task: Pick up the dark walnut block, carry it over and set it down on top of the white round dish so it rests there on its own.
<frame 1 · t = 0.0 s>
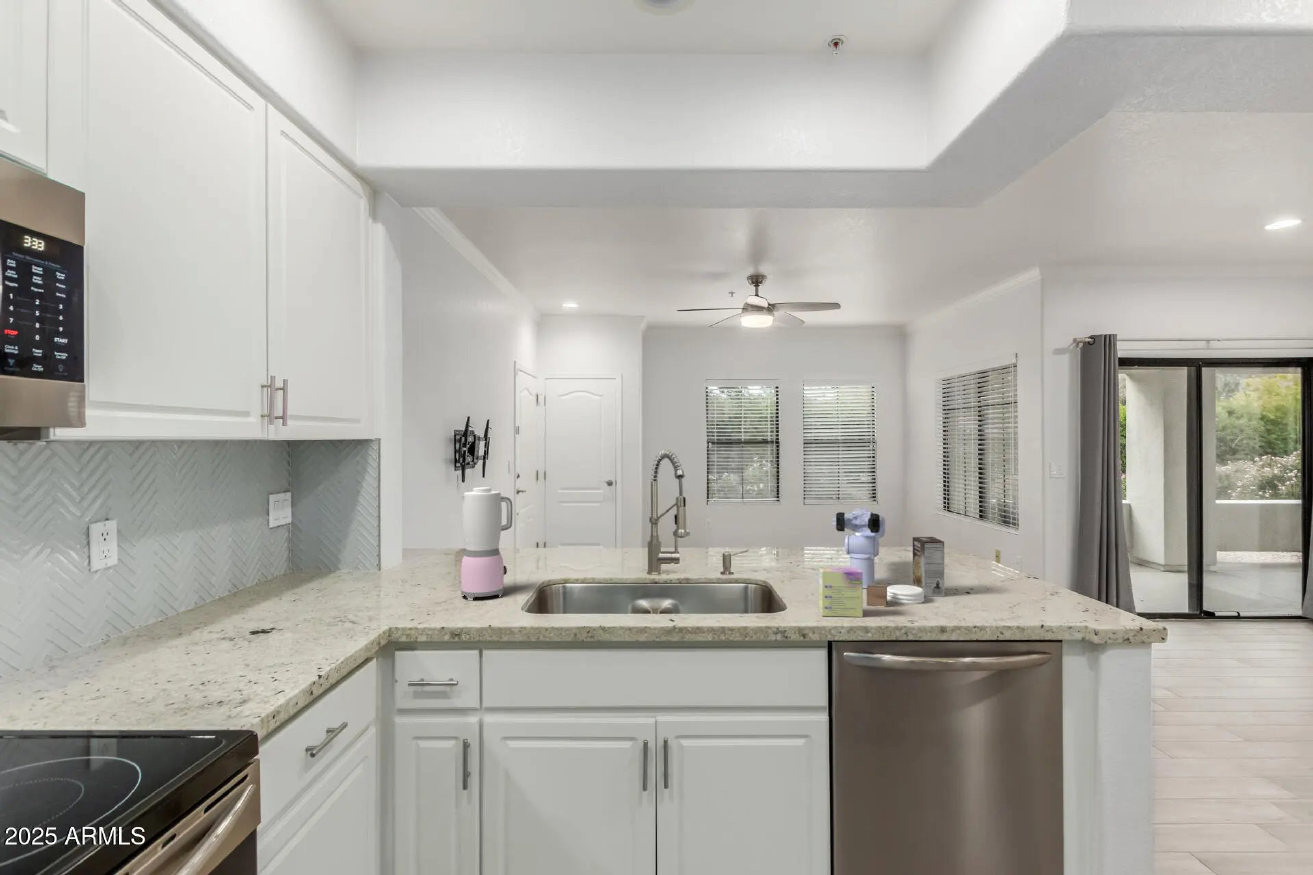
hand: (855, 523, 187), 22 cm above the worktop, tool horizontal, fingers open, 7 cm apart
white round dish: (905, 601, 187), on the worktop
walnut block: (877, 604, 182), on the worktop
blender: (487, 595, 196), on the worktop
coffee box: (928, 593, 195), on the worktop
box: (840, 614, 172), on the worktop
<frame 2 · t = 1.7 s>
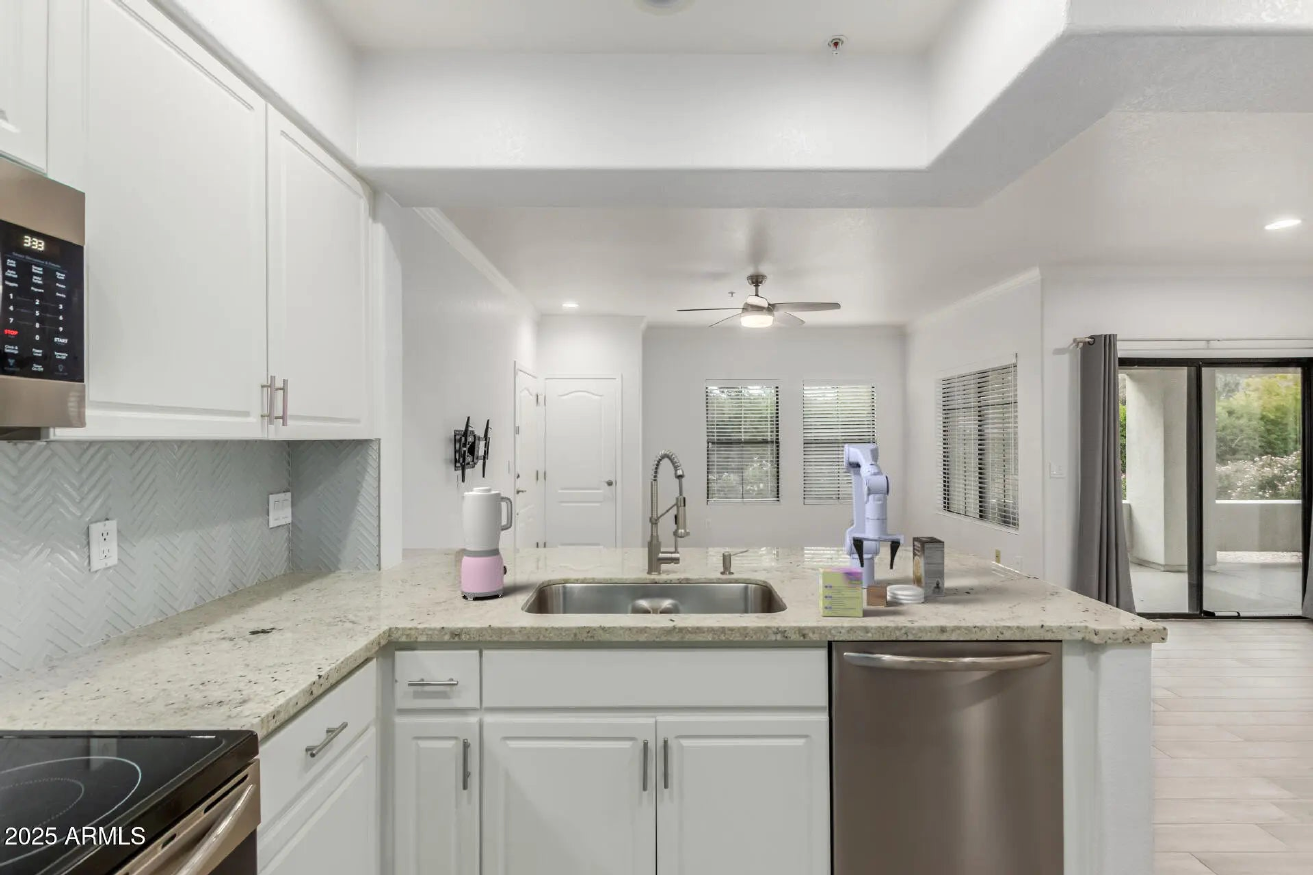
hand: (876, 567, 182), 10 cm above the worktop, tool pointing down, fingers open, 7 cm apart
nothing on the worktop moved.
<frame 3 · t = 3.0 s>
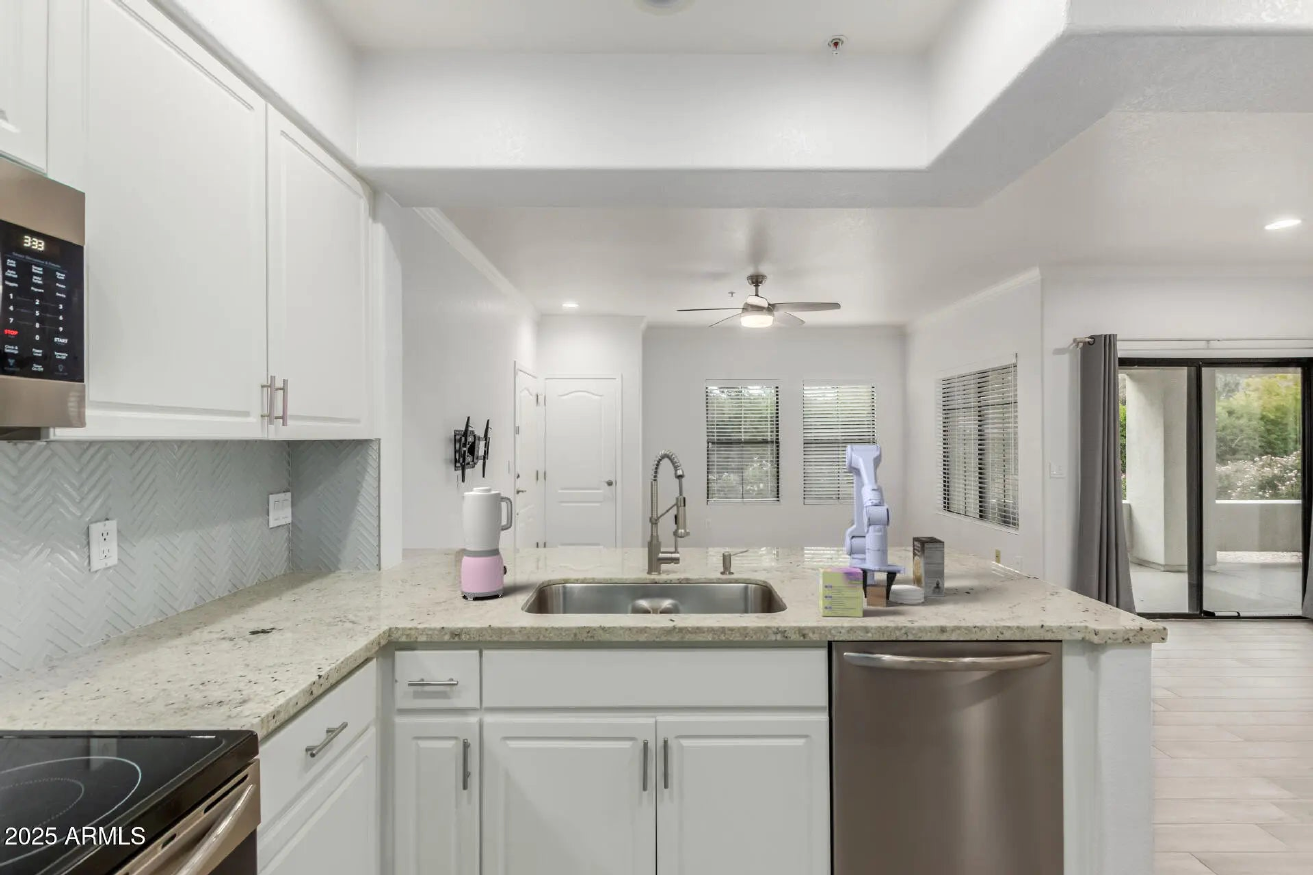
hand: (876, 598, 182), 2 cm above the worktop, tool pointing down, fingers closed on walnut block, 5 cm apart
walnut block: (877, 604, 182), on the worktop, touching gripper
everything else where it was.
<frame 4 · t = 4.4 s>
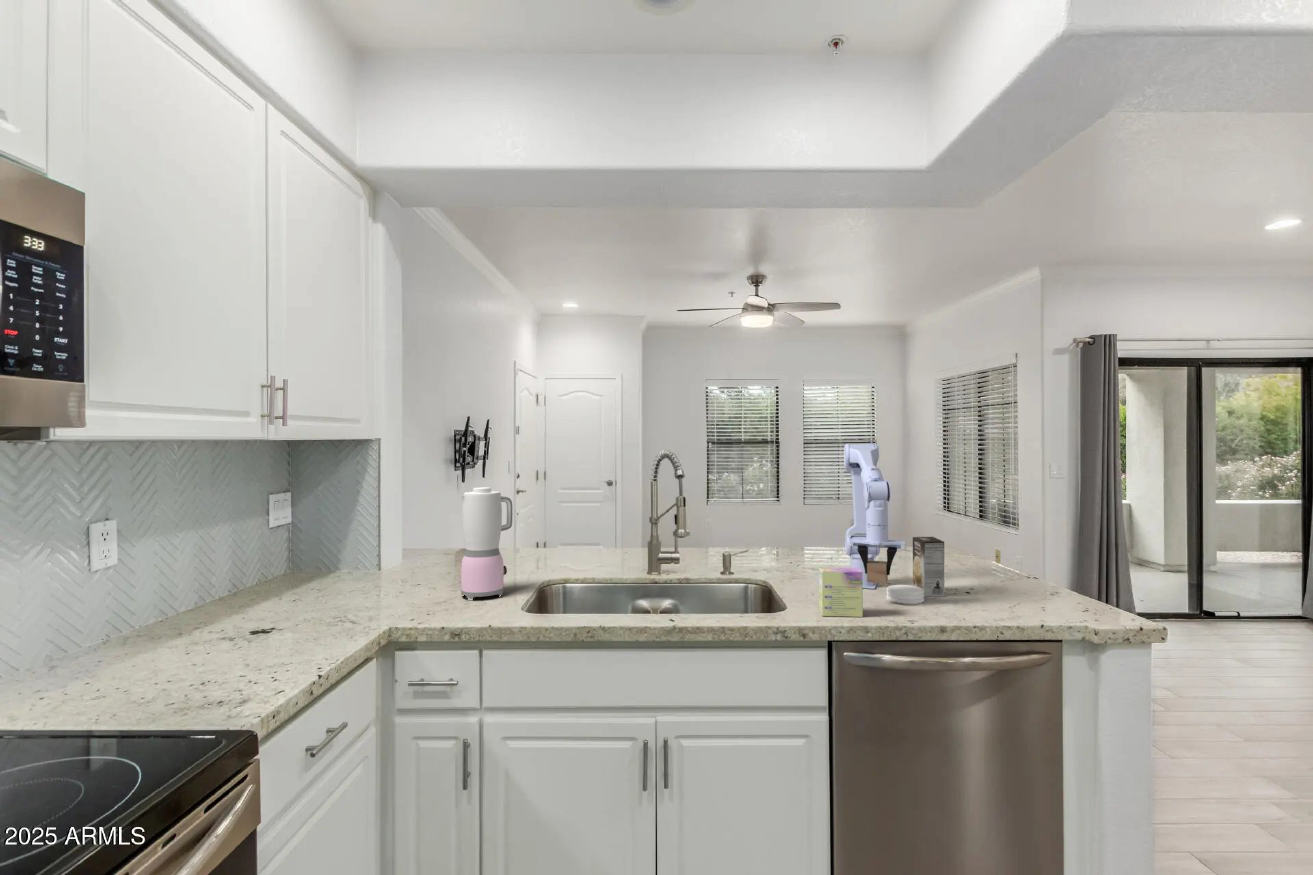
hand: (877, 573, 182), 8 cm above the worktop, tool pointing down, fingers closed on walnut block, 5 cm apart
walnut block: (877, 580, 182), point 6 cm above the worktop, touching gripper
everything else where it was.
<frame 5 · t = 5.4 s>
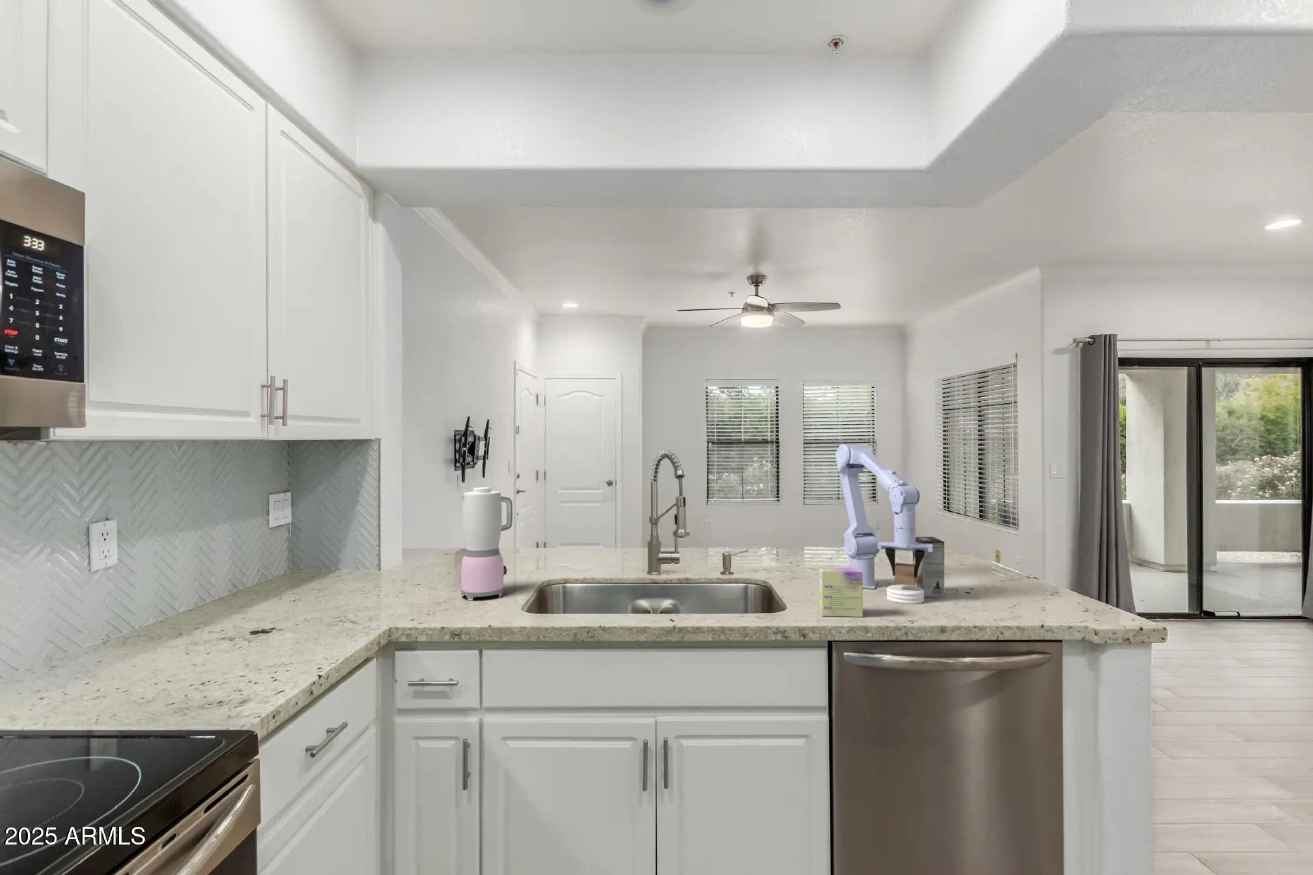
hand: (905, 575, 187), 7 cm above the worktop, tool pointing down, fingers closed on walnut block, 5 cm apart
walnut block: (905, 582, 187), point 5 cm above the worktop, touching gripper
everything else where it was.
when the fingers open (6 cm above the worktop, at t = 6.0 s): walnut block drops 1 cm, resting on white round dish.
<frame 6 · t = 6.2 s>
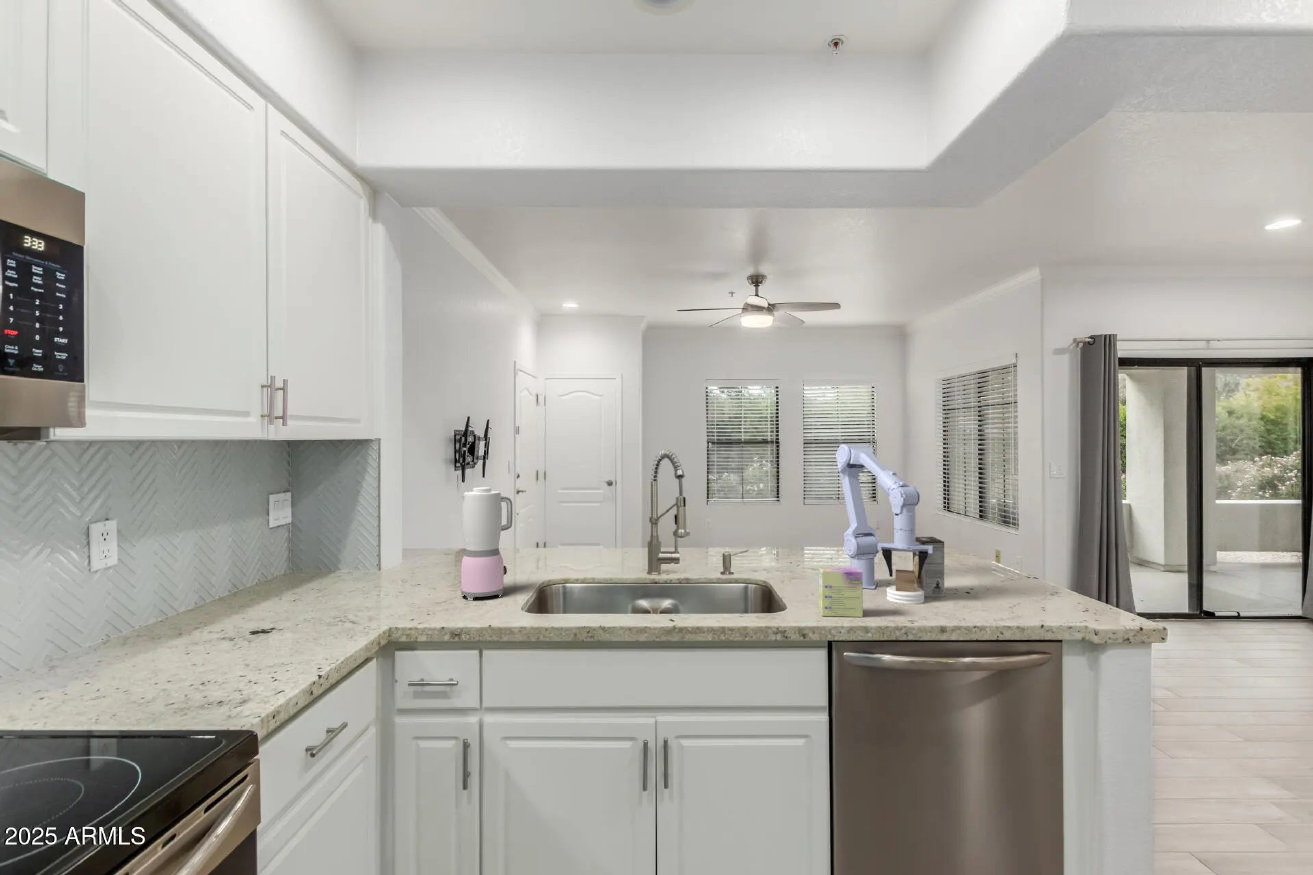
hand: (905, 577, 187), 6 cm above the worktop, tool pointing down, fingers open, 7 cm apart
white round dish: (905, 602, 187), on the worktop, touching walnut block
walnut block: (905, 589, 187), point 3 cm above the worktop, touching white round dish
everything else where it was.
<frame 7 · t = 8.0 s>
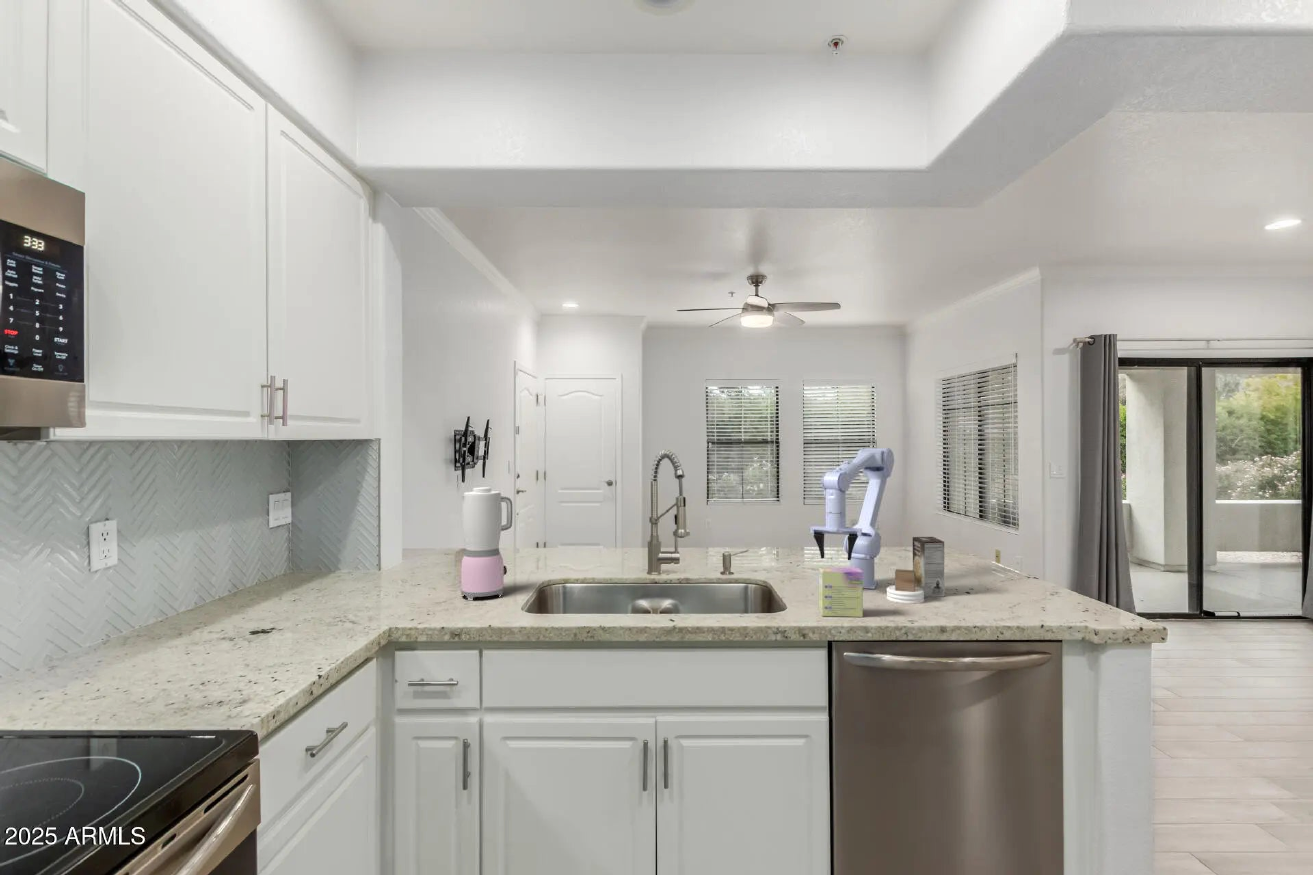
hand: (835, 558, 194), 10 cm above the worktop, tool pointing down, fingers open, 7 cm apart
nothing on the worktop moved.
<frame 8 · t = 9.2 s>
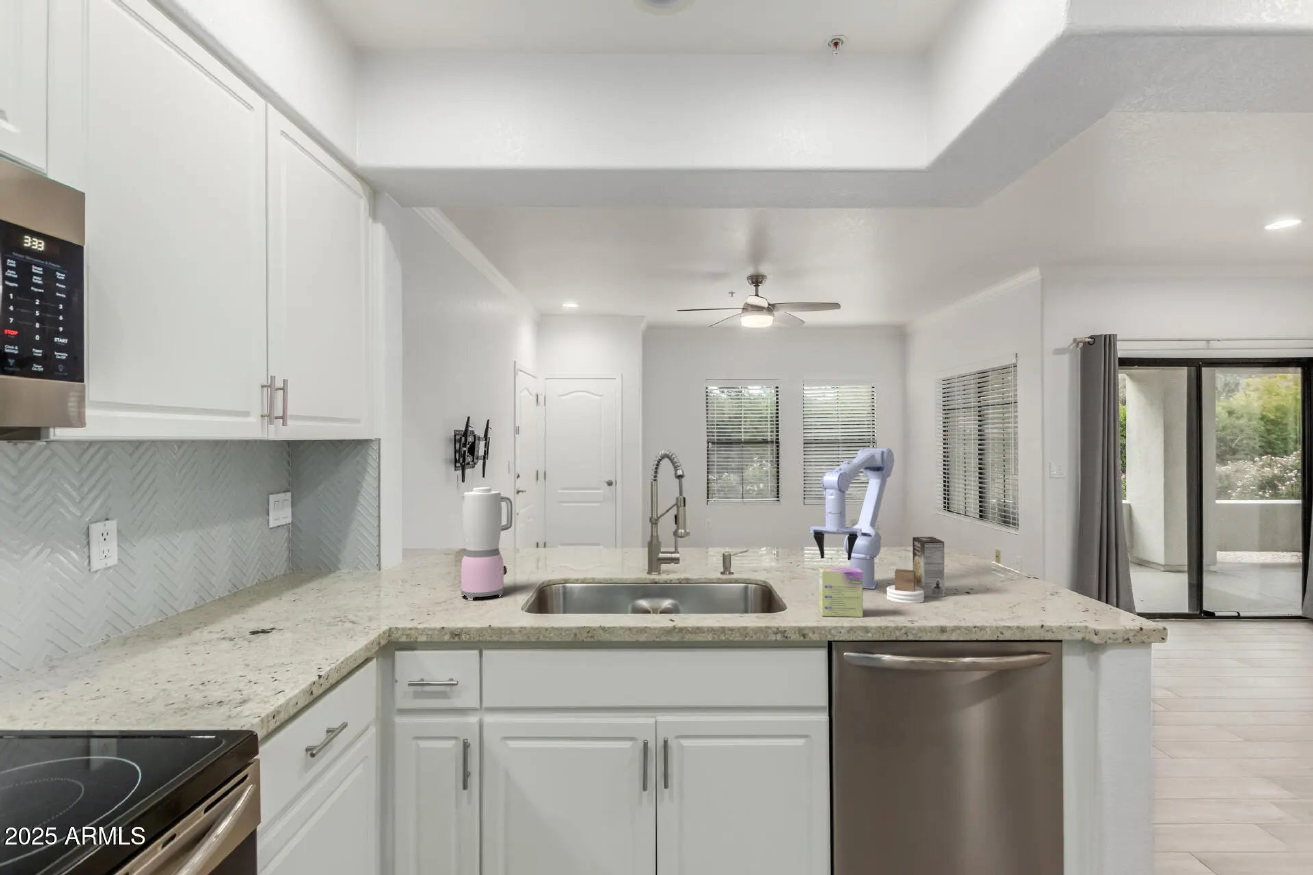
hand: (835, 558, 194), 10 cm above the worktop, tool pointing down, fingers open, 7 cm apart
nothing on the worktop moved.
at the end: walnut block inside the target area on the white round dish (0.3 cm from its centre), point 3.7 cm above the white round dish's base; walnut block touching white round dish; the gripper is holding nothing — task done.
